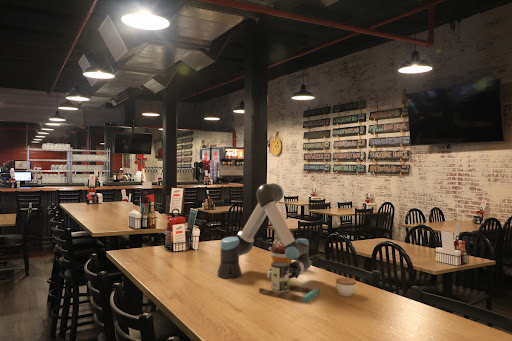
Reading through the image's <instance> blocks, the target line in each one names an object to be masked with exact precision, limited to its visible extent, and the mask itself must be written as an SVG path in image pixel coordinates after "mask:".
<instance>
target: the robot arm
mask: <svg viewBox="0 0 512 341" xmlns="http://www.w3.org/2000/svg"><path fill="white" fill-rule="evenodd" d="M255 195H256V200H257V204H256V206H255V208H254V210H252V213H251V215H250V216H249V218H248V220H247V222H246V224H245V225H244V227H243V229H242V230H239V231H238V233H236V236H227V237H224V238H222V239H221V241H220V246H219V247H220V264H219V267H218V270H217V277H219V278H223V279H238V278H241V277H242V269H241V266H240V256H243V255H247V254H248V253H250V252H251V251H252V249H253V246H254V241H255V239H254V237H255V236H256V234H257V232H258V230H259V229H260V227H261V225H262V224H263V222H264V220H265V218H266V217H267V218H268V219H269V221H270V223H271V225H272V227H273V228H274V231H275V232H276V234H277V236H278V238H279V240H280V242H282V244H283V245H284V247H285V249H286V251H285V255H286V257H287V258H288V259H290V260H292V262H291V263H289V264H290V267H289V274H287V275H285V281H286V280H288V279H289V280H291V279H294V278H295V279H298V278H299V277H300V275H302V273H303V272H306V271H307V270H308V269H310V268H311V266H312V261H311V260H310V258H309V240H308V239H307V238H297V239H296V240H295V238H294V236H293V234H292V232H291V230H290V228H289V226H288V225H287V223H286V221H285V219H284V217H283V216H282V214H281V212H280V209H279V208H278V206H277V203H278V202H280V201H281V200H282V199H283V197H284V189H283V188H282V185H280V184H277V183H263V184H261V185H260V186H258V188H257V190H256V194H255ZM293 260H294V261H293ZM267 278H271V268H269V271H268V272H267Z"/></svg>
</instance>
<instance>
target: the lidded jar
mask: <svg viewBox="0 0 512 341" xmlns="http://www.w3.org/2000/svg"><path fill="white" fill-rule="evenodd" d="M335 283H336V284H335V285H336V290H337V292H338V293H339V295H340V296H342V297H352V296H353V294H354V293H355V292H356V289H357V288H356V287H357V280H355V279H354V278H351V277H347V276H345V277H337V278H336V279H335Z"/></svg>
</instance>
